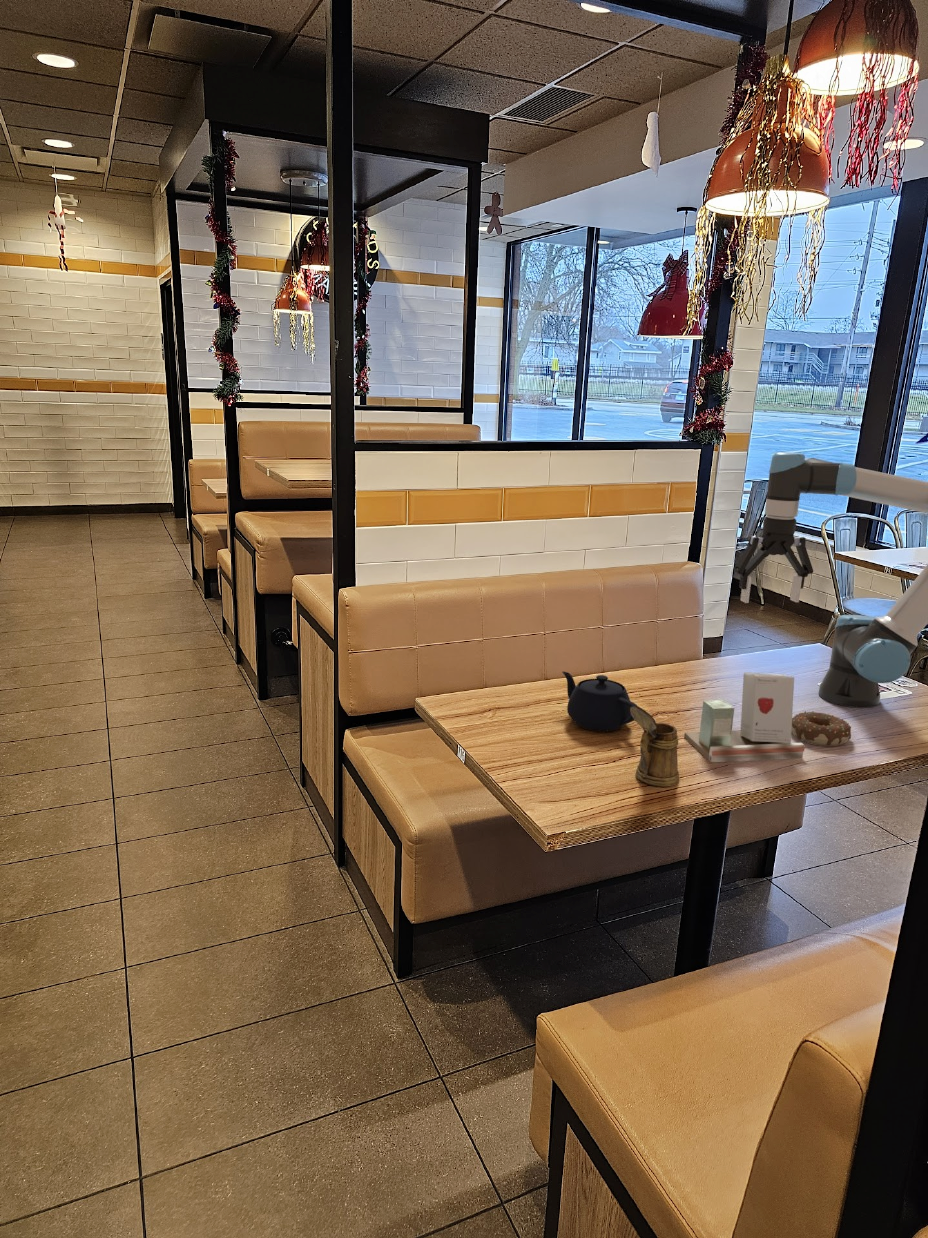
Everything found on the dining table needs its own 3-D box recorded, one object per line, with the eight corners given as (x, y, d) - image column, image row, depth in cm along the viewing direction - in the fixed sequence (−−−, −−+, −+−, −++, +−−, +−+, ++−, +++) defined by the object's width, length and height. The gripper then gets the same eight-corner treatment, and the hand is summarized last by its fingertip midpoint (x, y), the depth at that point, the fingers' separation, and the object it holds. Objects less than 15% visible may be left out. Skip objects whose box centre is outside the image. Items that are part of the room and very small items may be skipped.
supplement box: (751, 742, 186) (754, 675, 186) (739, 735, 195) (742, 672, 195) (792, 743, 186) (795, 676, 186) (778, 737, 195) (781, 673, 195)
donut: (851, 754, 190) (855, 733, 189) (788, 743, 195) (791, 723, 194) (847, 731, 203) (850, 712, 202) (788, 722, 208) (790, 704, 207)
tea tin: (719, 740, 192) (723, 700, 189) (729, 750, 187) (734, 708, 184) (698, 741, 191) (703, 700, 188) (708, 751, 186) (713, 709, 183)
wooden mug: (611, 780, 173) (618, 699, 168) (654, 765, 181) (661, 686, 176) (645, 797, 166) (653, 712, 161) (687, 780, 174) (696, 699, 169)
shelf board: (769, 733, 200) (771, 721, 199) (803, 758, 187) (805, 745, 186) (684, 737, 196) (685, 724, 195) (711, 763, 183) (713, 749, 182)
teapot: (656, 732, 199) (661, 684, 196) (612, 747, 190) (616, 696, 186) (581, 701, 218) (585, 656, 215) (537, 713, 209) (540, 666, 205)
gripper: (818, 515, 209) (806, 597, 214) (725, 514, 205) (716, 598, 210) (835, 519, 202) (823, 604, 207) (740, 518, 198) (730, 605, 203)
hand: (769, 601), depth 209 cm, fingers open, 13 cm apart
